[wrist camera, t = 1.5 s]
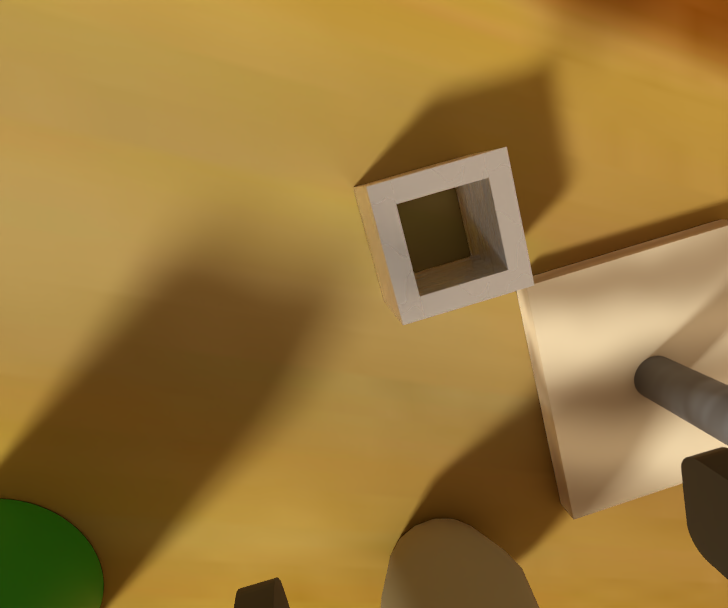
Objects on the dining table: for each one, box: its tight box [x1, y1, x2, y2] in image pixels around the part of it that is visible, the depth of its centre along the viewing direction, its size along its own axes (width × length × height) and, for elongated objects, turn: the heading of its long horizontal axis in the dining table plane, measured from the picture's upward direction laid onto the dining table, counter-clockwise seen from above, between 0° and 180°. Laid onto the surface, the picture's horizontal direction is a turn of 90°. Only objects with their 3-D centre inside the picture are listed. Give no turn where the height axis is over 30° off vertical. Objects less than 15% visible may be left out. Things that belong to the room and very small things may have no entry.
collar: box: [353, 147, 534, 325], centre depth 24 cm, size 6×6×5 cm
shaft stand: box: [517, 219, 728, 519], centre depth 26 cm, size 14×12×9 cm
